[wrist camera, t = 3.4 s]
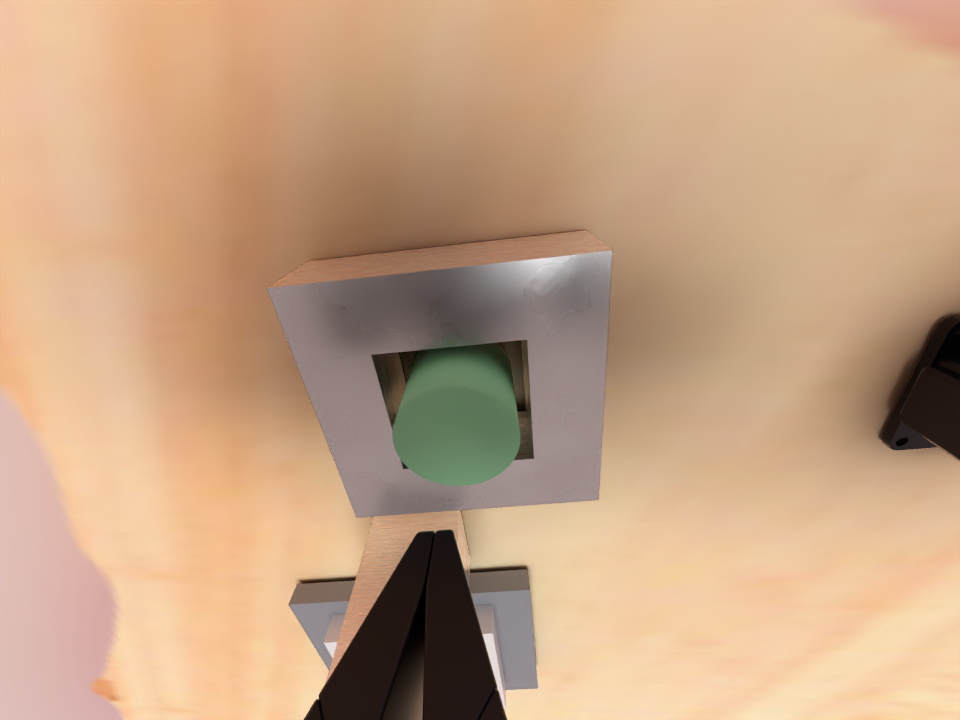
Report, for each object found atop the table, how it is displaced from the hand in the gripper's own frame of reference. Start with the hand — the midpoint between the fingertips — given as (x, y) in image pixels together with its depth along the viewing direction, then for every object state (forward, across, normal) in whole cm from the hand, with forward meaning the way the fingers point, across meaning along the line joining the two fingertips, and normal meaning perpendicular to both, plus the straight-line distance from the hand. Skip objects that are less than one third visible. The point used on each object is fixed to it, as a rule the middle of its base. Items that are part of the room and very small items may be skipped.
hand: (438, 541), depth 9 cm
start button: (+7, 0, 0) cm, 7 cm away
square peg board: (+8, 0, 0) cm, 8 cm away
